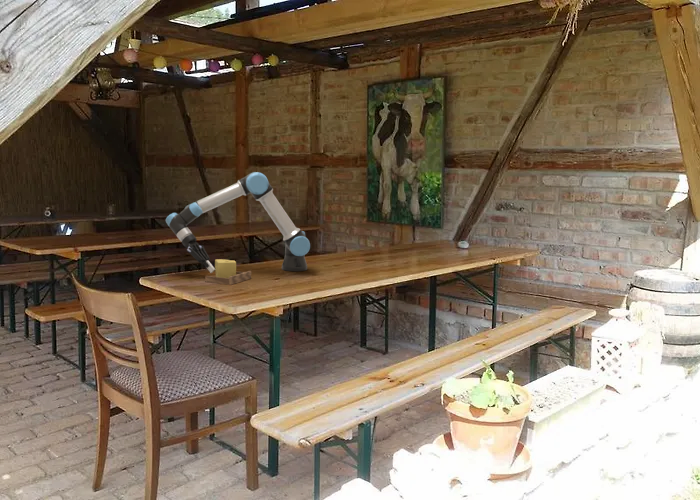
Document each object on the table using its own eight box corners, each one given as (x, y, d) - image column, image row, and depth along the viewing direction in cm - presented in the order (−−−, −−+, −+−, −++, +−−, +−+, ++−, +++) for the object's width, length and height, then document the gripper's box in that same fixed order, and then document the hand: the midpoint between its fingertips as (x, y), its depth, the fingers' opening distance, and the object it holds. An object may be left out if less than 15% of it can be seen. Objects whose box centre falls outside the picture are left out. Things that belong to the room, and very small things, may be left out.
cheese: (234, 277, 333) (234, 258, 332) (236, 280, 323) (237, 262, 322) (214, 277, 330) (214, 259, 329) (216, 281, 320) (216, 262, 319)
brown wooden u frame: (226, 275, 336) (226, 268, 336) (251, 278, 331) (251, 271, 330) (205, 281, 317) (205, 274, 317) (231, 284, 312) (231, 277, 311)
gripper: (190, 241, 337) (215, 273, 334) (175, 243, 325) (201, 277, 321) (198, 232, 335) (224, 265, 331) (183, 234, 322) (210, 268, 319)
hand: (213, 271), depth 326 cm, fingers closed
